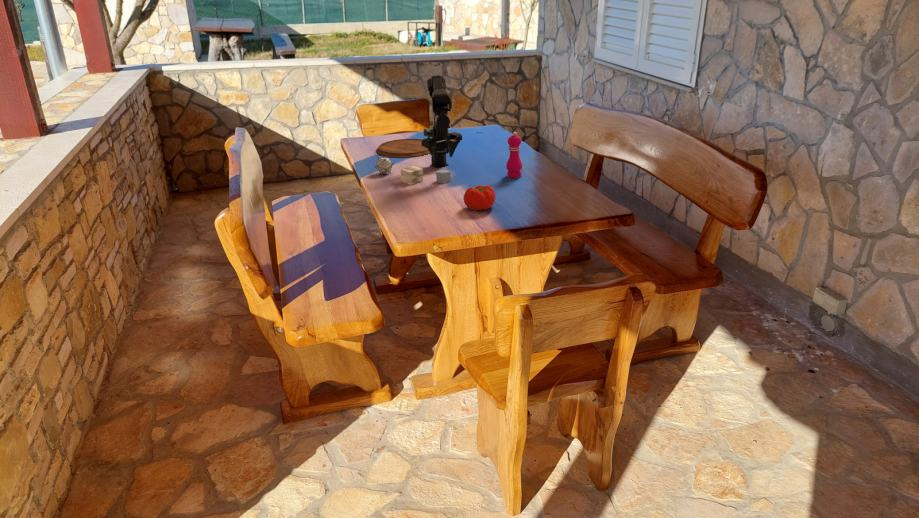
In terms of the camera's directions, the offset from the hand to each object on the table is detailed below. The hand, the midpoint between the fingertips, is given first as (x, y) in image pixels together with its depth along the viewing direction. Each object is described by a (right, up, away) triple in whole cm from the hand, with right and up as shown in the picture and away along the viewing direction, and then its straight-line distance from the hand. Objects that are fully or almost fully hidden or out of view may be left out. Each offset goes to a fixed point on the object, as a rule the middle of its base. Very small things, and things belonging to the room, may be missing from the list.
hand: (442, 159), depth 275 cm
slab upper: (-14, -7, +4) cm, 16 cm away
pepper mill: (+32, -6, +8) cm, 33 cm away
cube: (0, -9, +4) cm, 10 cm away
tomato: (+16, -24, -28) cm, 40 cm away
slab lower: (-14, -9, +5) cm, 17 cm away
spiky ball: (-27, -4, +16) cm, 32 cm away
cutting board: (-20, +13, +55) cm, 60 cm away
